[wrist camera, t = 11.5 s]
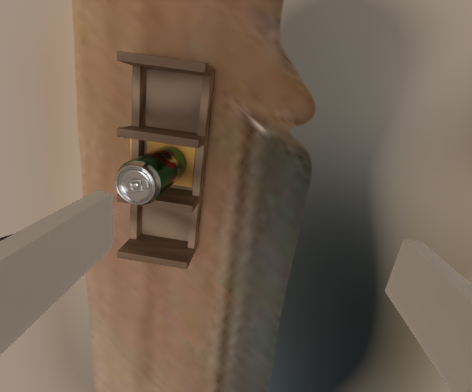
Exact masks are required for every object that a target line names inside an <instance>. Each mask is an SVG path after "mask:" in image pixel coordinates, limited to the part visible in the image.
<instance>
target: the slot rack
mask: <svg viewBox="0 0 472 392" xmlns="http://www.w3.org/2000/svg"><path fill="white" fill-rule="evenodd" d="M117 61H120V62H124V63H127V64H130V65H133V77H132V126H128V127H122V128H117V137H124V138H130V160H132V159H135V158H137V157H140V156H142V155H144V154H147V153H149V152H151V151H154V150H156V149H158V148H161V147H164V146H170V147H174V148H176V149H177V150H179V151H180V152H181V153H182V154H183V156H184V158H185V161H186V169H185V172H184V174H183V175H182V176H181V177H180V178H179V179H178V180H177V181H176V182H175V183H174V184H173V185H172V186H171V187H169V188H168V189H167V190H166V191H165V192H164V193H163V194H162V195H161V196H159V197H158V198H157V199H156V200H155V201H154V202H152V203H149V204H145V205H136V204H131V209H130V239H129V240H128V241H127V242H126V243H125V244H124V245H123V246H122V247H121V248H120V249H119V250H118V258H123V259H129V260H135V261H141V262H147V263H153V264H159V265H165V266H171V267H178V268H184V269H187V268H188V266H189V263H190V261H191V259H192V257H193V254H194V252H195V250H196V248H197V242H198V232H199V222H200V213H201V203H202V193H203V183H204V173H205V163H206V153H207V143H208V133H209V123H210V113H211V103H212V93H213V83H214V74H215V69H213V68H212V67H211V66H209V65H208V64H207V63H203V62H196V61H189V60H181V59H174V58H167V57H159V56H152V55H145V54H137V53H130V52H123V51H117ZM117 201H118V202H124V203H129V202H127V201H125V200H124V199H123V198H122V197H121V196H120V195H119V194H117Z"/></svg>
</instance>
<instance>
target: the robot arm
mask: <svg viewBox="0 0 472 392" xmlns="http://www.w3.org/2000/svg"><path fill="white" fill-rule="evenodd" d="M112 247H113V193H109V192H102V191H95V192H93V193H91V194H89V195H87V196H85V197H83V198H81V199H80V200H78V201H76V202H74V203H72V204H70V205H68V206H66V207H64V208H62V209H60V210H59V211H57V212H55V213H53V214H51V215H49V216H47V217H45V218H44V219H41V220H40V221H38V222H36V223H34V224H32V225H30V226H28V227H26V228H25V229H22V230H21V231H19V232H17V233H15V234H12V235H9V236H5V237H2V238H0V355H1V354H2V353H3V352H4V351H5V350H6V349H7V348H8V347H9V346H10V345H11V344H12V343H13V342H14V341H16V340H17V339H18V338H19V337H20V336H21V335H22V334H23V333H24V332H25V331H26V330H27V329H28V328H29V327H30V326H31V325H32V324H33V323H34V322H35V321H36V320H37V319H38V318H39V317H40V316H41V315H43V313H45V312H46V311H47V310H48V309H49V308H50V307H51V306H52V305H53V304H54V303H55V302H56V301H57V300H58V299H59V298H60V297H61V296H62V295H63V294H64V293H65V292H66V291H67V290H68V289H69V288H70V287H72V286H73V285H74V284H75V283H76V282H77V281H78V280H79V279H80V278H81V277H82V276H83V275H84V274H85V273H86V272H87V271H88V270H89V269H90V268H91V267H92V266H93V265H94V264H95V263H97V262H98V261H99V260H100V259H101V258H102V257H103V256H104V255H105V254H106V253H107V252H108V251H109V250H110V249H111V248H112ZM385 292H386V294H387V295H388V296H389V298H390V300H391V301H392V303H393V304H394V306H395V307H396V309H397V310H398V311H399V313H400V315H401V316H402V318H403V319H404V321H405V322H406V324H407V325H408V327H409V328H410V330H411V331H412V333H413V334H414V336H415V337H416V339H417V340H418V342H419V343H420V345H421V346H422V348H423V349H424V351H425V352H426V354H427V355H428V357H429V358H430V360H431V361H432V363H433V364H434V366H435V367H436V369H437V370H438V372H439V373H440V375H441V376H442V378H443V379H444V381H445V383H446V384H447V386H448V387H449V388H450V390H451V392H472V284H471V283H469V282H468V281H467V280H466V279H465V278H464V277H462V276H461V275H460V274H459V273H458V272H456V271H455V270H454V269H453V268H452V267H451V266H449V265H448V264H447V263H446V262H445V261H444V260H442V259H441V258H440V257H439V256H438V255H437V254H435V253H434V252H433V251H432V250H431V249H430V248H428V247H427V246H426V245H425V244H424V243H423V242H420V241H415V240H408V239H403V242H402V245H401V248H400V251H399V253H398V256H397V259H396V262H395V264H394V267H393V270H392V273H391V275H390V278H389V281H388V284H387V287H386V289H385Z"/></svg>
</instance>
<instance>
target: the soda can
mask: <svg viewBox="0 0 472 392" xmlns="http://www.w3.org/2000/svg"><path fill="white" fill-rule="evenodd" d="M185 169H186V161H185V158H184V156H183V154H182V153H181V152H180V151H179V150H177V149H176V148H174V147H170V146H164V147H161V148H158V149H156V150H154V151H151V152H149V153H147V154H144V155H142V156H140V157H137V158H135V159H132V160H130V161H128V162H126V163H124V164H123V165H122V166H121V167H120V169H119V171H118V174H117V176H116V180H115V184H116V189H117V191H118V193H119V195H120V196H121V197H122V198H123V199H124V200H125V201H127V202H129V203H131V204H136V205H145V204H149V203H152V202H154V201H155V200H156V199H157V198H158V197H159V196H161V195H162V194H163V193H164V192H165V191H166V190H167V189H168V188H169V187H171V186H172V185H173V184H174V183H175V182H176V181H177V180H178V179H179V178H180V177H181V176H182V175H183V174H184V172H185Z"/></svg>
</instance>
